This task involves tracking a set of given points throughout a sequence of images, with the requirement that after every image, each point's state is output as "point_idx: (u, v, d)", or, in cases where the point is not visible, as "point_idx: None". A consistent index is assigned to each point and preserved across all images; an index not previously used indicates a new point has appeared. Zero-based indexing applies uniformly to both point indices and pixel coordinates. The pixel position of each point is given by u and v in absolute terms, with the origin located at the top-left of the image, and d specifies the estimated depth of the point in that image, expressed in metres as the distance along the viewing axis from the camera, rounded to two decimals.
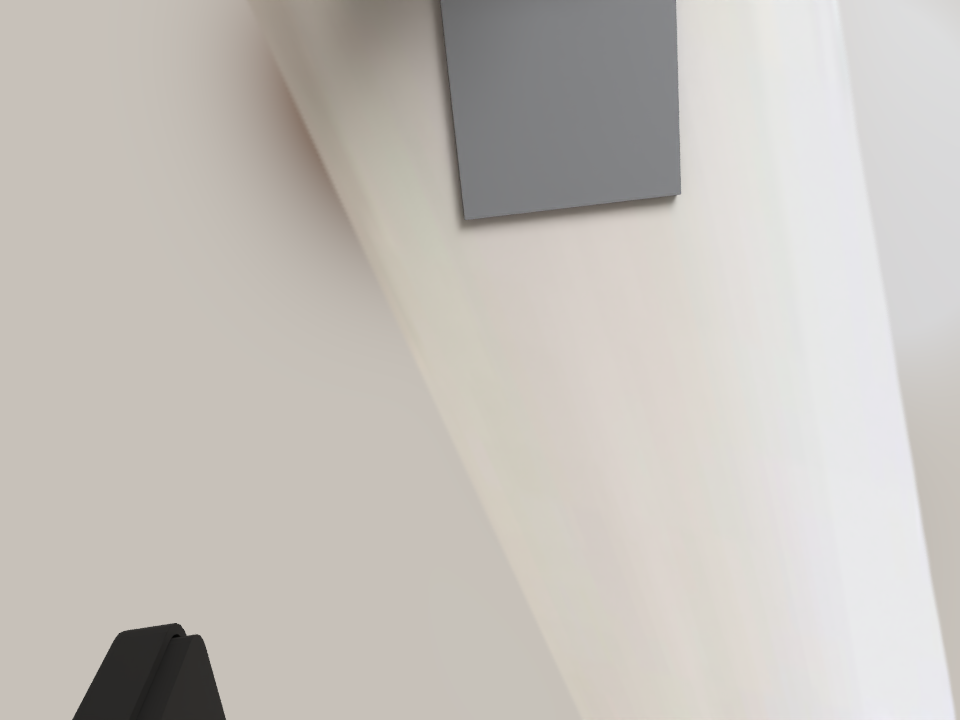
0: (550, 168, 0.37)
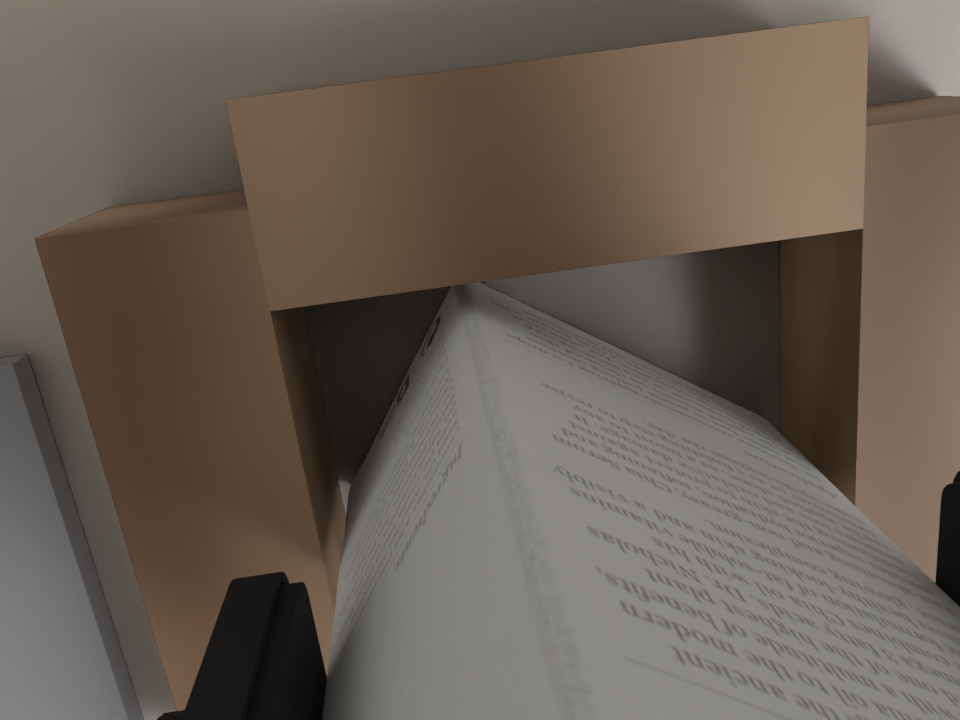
0: None
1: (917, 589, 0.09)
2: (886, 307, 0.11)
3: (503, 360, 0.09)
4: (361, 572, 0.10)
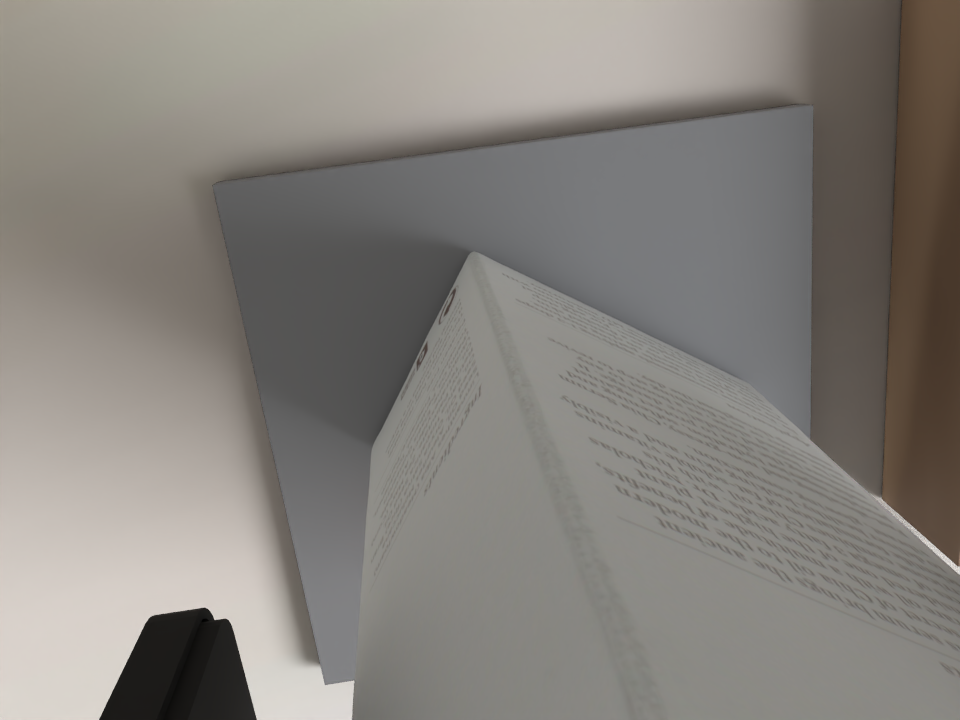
0: (367, 400, 0.15)
1: (874, 515, 0.10)
2: None
3: (515, 318, 0.10)
4: (389, 507, 0.11)
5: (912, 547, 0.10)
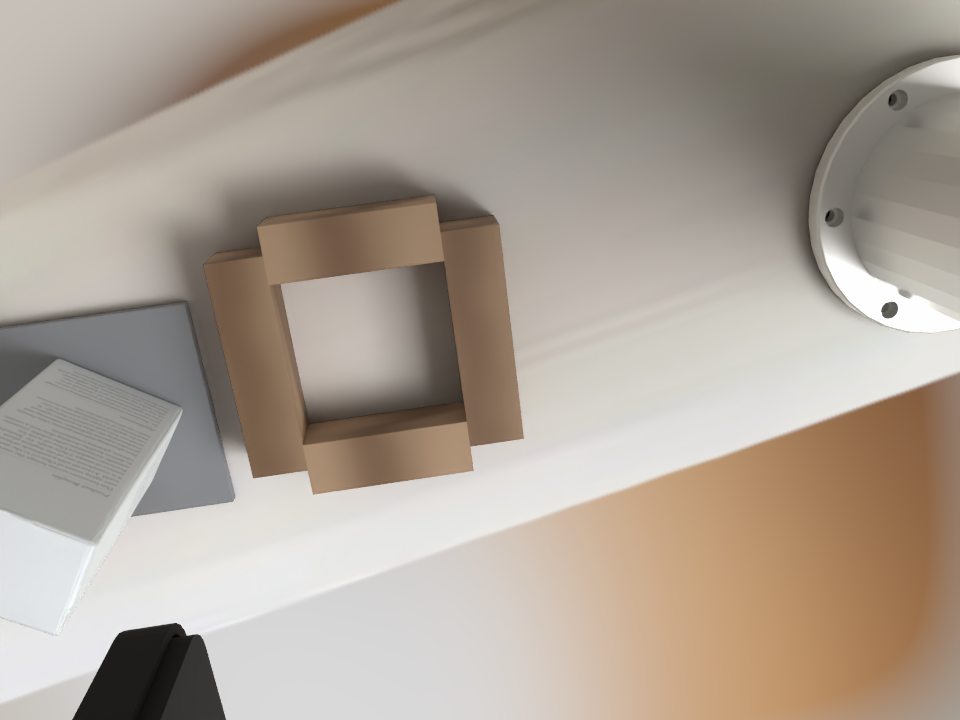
0: None
1: (130, 450, 0.33)
2: (455, 285, 0.36)
3: (28, 390, 0.34)
4: None
5: (128, 458, 0.33)
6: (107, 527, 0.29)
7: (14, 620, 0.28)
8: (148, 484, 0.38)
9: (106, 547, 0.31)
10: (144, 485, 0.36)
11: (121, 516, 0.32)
